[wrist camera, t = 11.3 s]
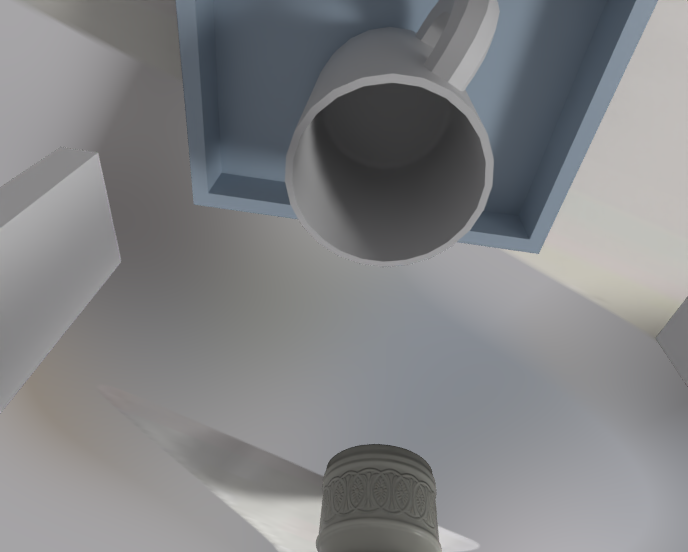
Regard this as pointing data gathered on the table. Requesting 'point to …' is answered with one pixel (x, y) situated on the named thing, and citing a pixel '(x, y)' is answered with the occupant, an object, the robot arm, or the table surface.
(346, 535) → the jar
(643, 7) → the cart
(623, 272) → the table surface
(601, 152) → the table surface
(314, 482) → the table surface
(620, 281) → the table surface
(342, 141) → the cup
